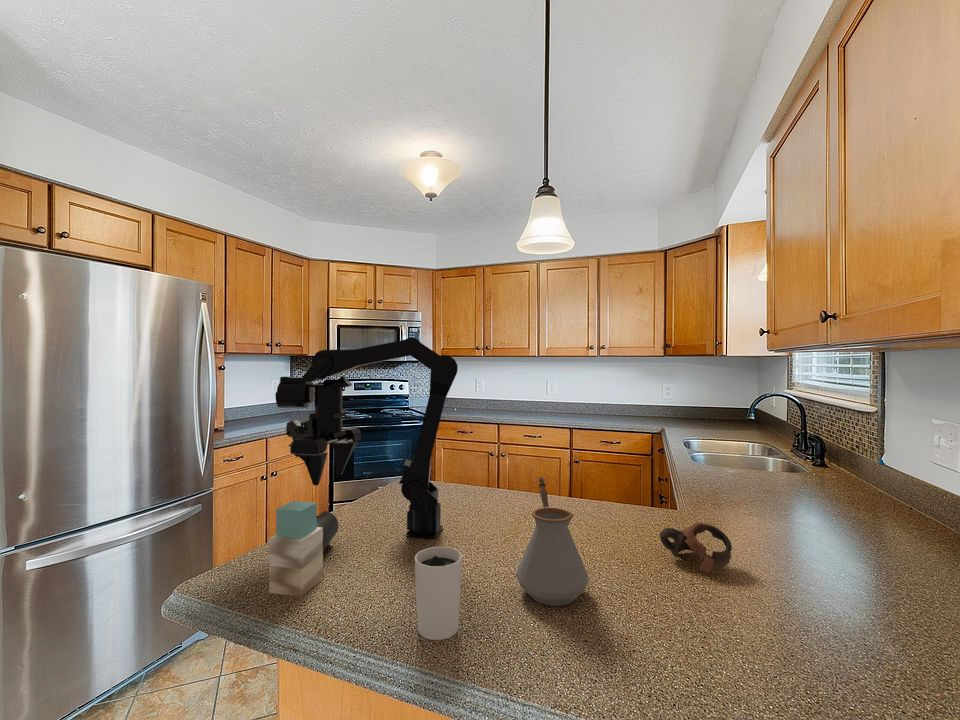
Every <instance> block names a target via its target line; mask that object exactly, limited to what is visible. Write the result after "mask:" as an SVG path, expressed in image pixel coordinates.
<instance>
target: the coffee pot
mask: <svg viewBox="0 0 960 720" xmlns="http://www.w3.org/2000/svg"><path fill="white" fill-rule="evenodd" d="M537 481H539V484H538V483H537ZM535 484H536V485H537V486H538V487H539V488H540V491H539V493H540V499H541V502H542V506H543V507H540V508H537V509H534V510H533V511H532V513H531V516H532V518H534V521H535V527H534V529H533V531H532V535H531V537H530V539H529V541H528V544H527V545H526V548H525V550H524V553H523V556H522V558H521V561H520V562H519V565H518V566H517V567H518V568H517V570H516V571H517V572H516V579H517V580H518V584H519V585H520V587H521V588H522V589H523V590H524V592H526V594H527V595H528V596H529V597H530V598H531V599H533V600H535V602H537V603H540V604H543V605H546V606H547V605H549V606H564V605H568V604H570V603H572V602H574V601H575V600H576V598H579V596H581V594H583V593H584V592H585V591H586V588H587V586H588V583H589V577H588V576H589V575H588V573H587V570H586V568H585V564H584V562H583V560H582V557H581V555H580V554H579V551H578V548H577V547H576V543H575V541H574V539H573V537H572V534H571V530H570V529H569V525H570V523H571V521H572V518H574V516H575V514H574V513H573V512H571V511H569V510H566V509H563V508H560V507H559V508H558V507H549V499H548V492H547V490H546V485H547V484H548V480H547V479H546V478H543V477H542V476H540V477H539V478H537V479H535Z"/></svg>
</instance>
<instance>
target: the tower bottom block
mask: <svg viewBox="0 0 960 720" xmlns="http://www.w3.org/2000/svg"><path fill="white" fill-rule="evenodd" d="M268 569H269V570H268V593H269V594H278V595H285V596H292V597H301V598H302V597H303V596H305V595H306V594H307V593H308V592H309V591H310V590H312V589H313V588H314V587H315V586H317V585H318V584H319V583H320V582H322V581H323V580H324V553H323V554H322V555H320V556H319V557H318V558H316V559H315V560H314V561H312V562H311V563H309V564H308V565H307V566H305V567H304V568H303V569H295V568H286V567H277V566H269V565H268Z"/></svg>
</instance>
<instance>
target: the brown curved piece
mask: <svg viewBox="0 0 960 720" xmlns="http://www.w3.org/2000/svg"><path fill="white" fill-rule="evenodd" d="M706 531H708V532H710V534H711V536H712V537H713V538H715V539H718V540H720V541H722V542H723V545H724V546H725V549H724V550H722V551H715V550H713V551H712V555H710V554H707V547H706V546H704V544H703V543H701V542H700V541H699V540H698V538H697V537H696V536H697V535H698V534H702V533H704V532H706ZM669 538H670V539H672V540H673V541H670V540H669ZM659 539H660V543H661V544H662V545H663V546H664V548H666V550H669V552H671V554H672V556H674V558H678V555H679V553H680V552H681V553H682V552H683V551H691V552H693V553H695V554H696V555H697V556H698V557H700V558H701V559H702V562H701V564H700V566H699V568H698V570H699V571H700V572H701V573H704V574H706V575H709V574H710V573H711V572H713V571H717V570H719V569H721V568H724V567H725V566H727V565H728V564H729V563H730V560H731V558H732V552H731V551H732V550H733V549H732V547H733V546H732V542H731V540H730V538H729V537H728V536H727V535H726V534H725V533H724V532H723V531H722V530H720V529H719V528H717V527H716V526H714V525H711V524H708V523H704V522H695V523H693V524H692V525H690V526H687V527H685V528H683V529H681V530H679V529H676V528H674V527H666V528H664V529H662V530H661V531H660V533H659Z"/></svg>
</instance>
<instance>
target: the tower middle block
mask: <svg viewBox="0 0 960 720" xmlns="http://www.w3.org/2000/svg"><path fill="white" fill-rule="evenodd" d="M323 552H324V551H323V528H322V527H317V529H316V530H314V531H312V532H311V533H309V534H308V535H306V536H304V537H303V538H301V539H297V538H287V537H276V533H275V534H274V535H272V536H270V537H269V538H268V567H269V566H277V567H286V568H295V569H303V568H304V567H305V566H307V565H308V564H309V563H311V562H312V561H314V560H315V559H316V558H318V557H319V556H320V555H322V554H323V555H324V553H323Z"/></svg>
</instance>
